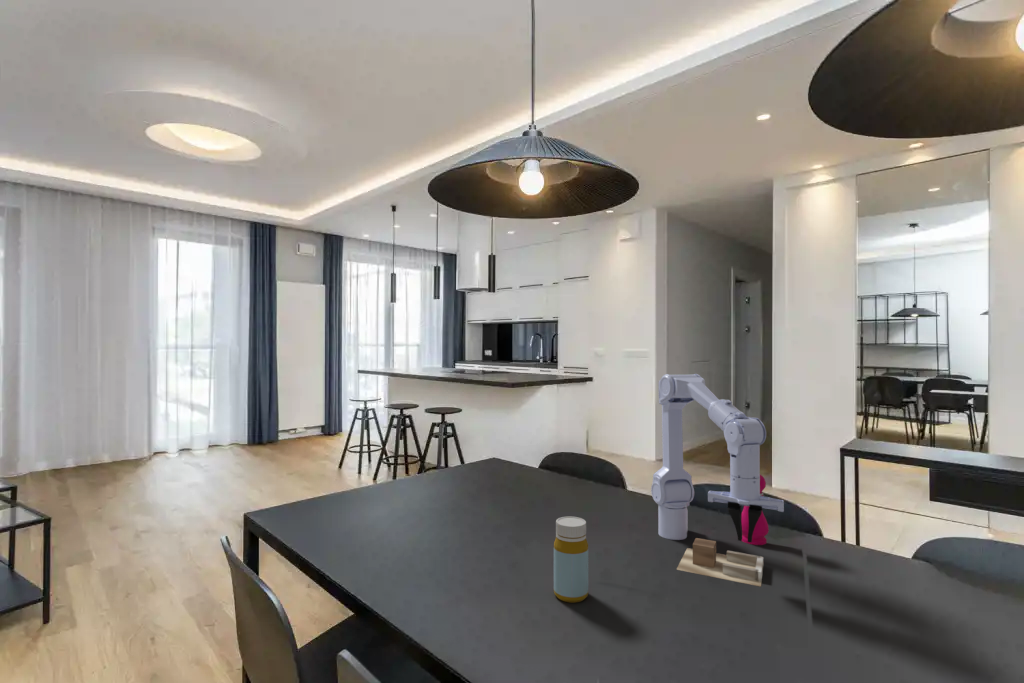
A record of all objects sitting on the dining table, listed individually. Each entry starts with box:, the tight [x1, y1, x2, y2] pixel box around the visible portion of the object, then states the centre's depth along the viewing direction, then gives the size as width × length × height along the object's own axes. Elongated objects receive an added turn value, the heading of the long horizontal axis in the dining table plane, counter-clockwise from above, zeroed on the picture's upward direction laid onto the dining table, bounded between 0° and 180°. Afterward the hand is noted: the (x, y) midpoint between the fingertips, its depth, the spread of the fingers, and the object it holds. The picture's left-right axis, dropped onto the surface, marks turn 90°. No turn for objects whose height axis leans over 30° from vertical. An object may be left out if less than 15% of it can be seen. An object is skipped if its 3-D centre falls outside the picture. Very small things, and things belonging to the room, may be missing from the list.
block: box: [692, 537, 717, 568], centre depth 118 cm, size 4×4×4 cm
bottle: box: [553, 516, 589, 603], centre depth 104 cm, size 7×7×15 cm
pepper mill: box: [741, 474, 770, 546], centre depth 132 cm, size 7×7×20 cm
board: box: [676, 547, 765, 588], centre depth 116 cm, size 14×17×3 cm
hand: (745, 540), depth 108 cm, fingers closed
